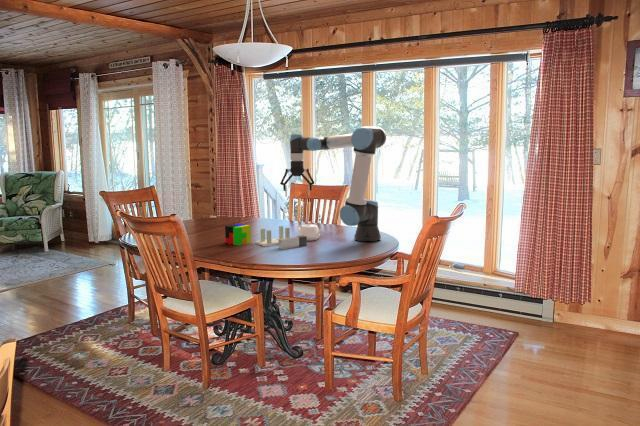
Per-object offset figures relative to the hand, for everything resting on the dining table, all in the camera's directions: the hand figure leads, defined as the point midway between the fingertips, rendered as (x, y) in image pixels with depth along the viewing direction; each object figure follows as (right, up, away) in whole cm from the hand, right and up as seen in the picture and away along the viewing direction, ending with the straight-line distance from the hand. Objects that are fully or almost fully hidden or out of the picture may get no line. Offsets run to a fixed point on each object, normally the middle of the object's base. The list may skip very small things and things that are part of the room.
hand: (297, 196), depth 311 cm
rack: (-12, -27, -17) cm, 34 cm away
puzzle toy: (-33, -27, -17) cm, 46 cm away
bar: (-1, -28, -28) cm, 40 cm away
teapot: (+7, -25, -8) cm, 28 cm away
